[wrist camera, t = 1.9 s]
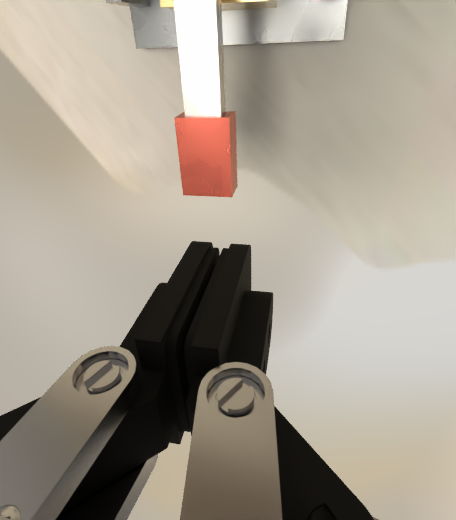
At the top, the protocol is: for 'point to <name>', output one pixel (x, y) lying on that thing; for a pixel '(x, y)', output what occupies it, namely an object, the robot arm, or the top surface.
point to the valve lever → (204, 103)
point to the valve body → (244, 21)
